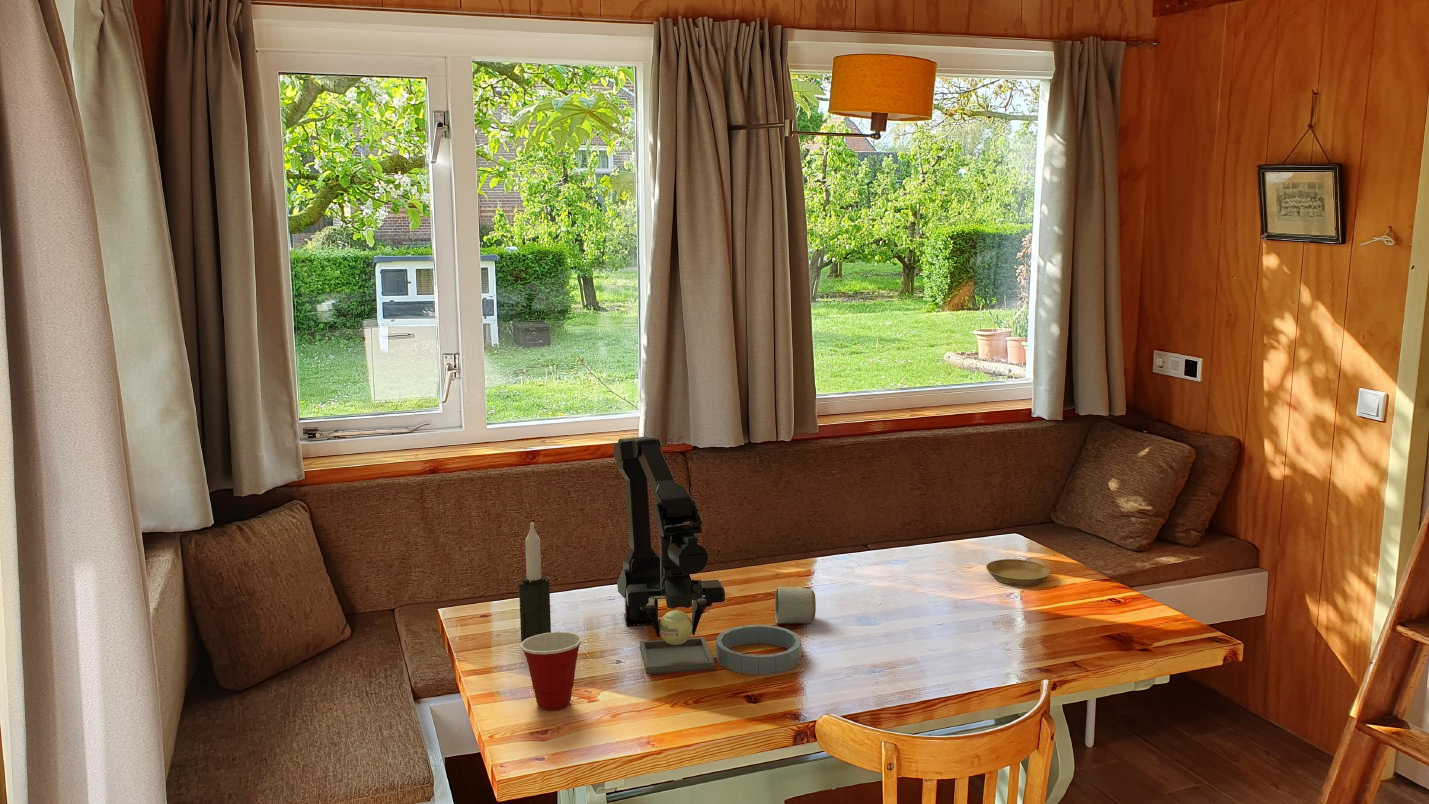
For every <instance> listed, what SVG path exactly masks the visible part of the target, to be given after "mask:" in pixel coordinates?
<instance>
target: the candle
mask: <svg viewBox="0 0 1429 804" xmlns="http://www.w3.org/2000/svg"><path fill="white" fill-rule="evenodd" d="M529 526H530V527H529V530H528V531H529V532H528V534H527V536H526V537H525V540H524V541H525V542H524V543H525V545H524V547H525V568H526V571H525V572H526V575H525V576H523V577H522V580H521V581H520V582H519V583H518V594H519V595H518V598H519V618H520V619H519V620H520V643H521V642H523V641H524V640H525V639H527V638H530V637H532V636H535V635H539V634H544V633H551V632H552V622H551V620H552V619H551V617H552V616H551V592H550V578H547V577H546V576H545V575H543V574H542V558H541V538H540V537H539V535H538V533H537V530H536V528H535V523H534V522H533V521H532V522H530V524H529Z"/></svg>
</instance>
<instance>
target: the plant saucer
mask: <svg viewBox="0 0 1429 804" xmlns="http://www.w3.org/2000/svg"><path fill="white" fill-rule="evenodd" d="M985 567H986V570H987V572H988V573H989V574H990V576H992V577H993V578H994V580H996V581H997V582H1000V583H1002V584H1005V585H1008V586H1009V585H1010V586H1016V587H1017V586H1018V587H1030V586H1036V585H1039V584H1041V583H1042V582H1044V581H1045V580H1046V579H1047V578H1048V577H1049V576H1050V575H1051V573H1052V572H1051V569H1050V568H1049V567H1048V566H1046V565H1044V564H1042V563H1040V562H1035V561H1031V560H1026V559H1016V558H1014V559H1013V558H1007V559H996V560H993V561H990V562H988V563H987V564H986V566H985Z"/></svg>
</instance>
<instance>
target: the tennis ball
mask: <svg viewBox="0 0 1429 804" xmlns="http://www.w3.org/2000/svg"><path fill="white" fill-rule="evenodd" d="M658 624H659V636H660V637H661V638H662V640H665V641H666V642H667V643H669V644H673V645H679V644H682V643H684V642H686V641H687V639H688V638H691V635H692V629H693V627H692V618H691V617H689V615H688V614H687V613H685V612H684V611H681V610H678V609H674V610H671V611H670V610H669V611H668V612H666V613H665V614H663V615H662V617H661V619H660V620H659V623H658Z"/></svg>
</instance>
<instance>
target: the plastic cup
mask: <svg viewBox="0 0 1429 804" xmlns="http://www.w3.org/2000/svg"><path fill="white" fill-rule="evenodd" d="M582 639H583V638H582V636H581V635H579V634H577V633H574V632H570V631H554V632H552V631H551V633H544V634H539V635H535V636H532V637H530V638H527V639H525V640H524V641H523V642H521V641H520V645H519V647H520V649H521V650H522V651H523V654H524V656H525V659H526V662H527V666H528V671H529V675H530V680H531V685H532V689H533V691H534V694H535V695H534V696H535V700H536V701H535V702H536V704H537V707H539V709H541V710H543V711H549V712H552V711H553V712H554V711H560V710H563V709H565V708H568V706H569V705H571V701H572V694H573V693H572V692H573V687H574V682H575V675H576V674H575V673H576V667H577V666H576V665H577V659H578V653H579V651H580V650H579V648H580V646H581V644H582Z"/></svg>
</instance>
